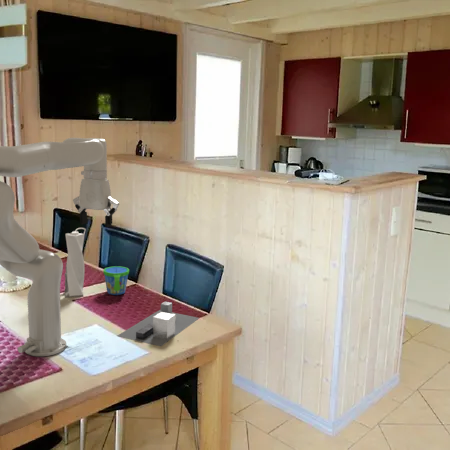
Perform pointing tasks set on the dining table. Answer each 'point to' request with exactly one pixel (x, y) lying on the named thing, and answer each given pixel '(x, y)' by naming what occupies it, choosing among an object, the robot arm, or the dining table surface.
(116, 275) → the snack cup
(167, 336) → the light grey block
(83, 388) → the dining table surface
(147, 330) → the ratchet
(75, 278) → the skyscraper
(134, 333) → the tool mat
